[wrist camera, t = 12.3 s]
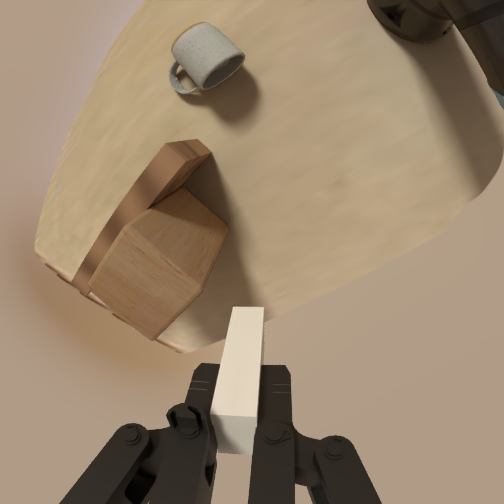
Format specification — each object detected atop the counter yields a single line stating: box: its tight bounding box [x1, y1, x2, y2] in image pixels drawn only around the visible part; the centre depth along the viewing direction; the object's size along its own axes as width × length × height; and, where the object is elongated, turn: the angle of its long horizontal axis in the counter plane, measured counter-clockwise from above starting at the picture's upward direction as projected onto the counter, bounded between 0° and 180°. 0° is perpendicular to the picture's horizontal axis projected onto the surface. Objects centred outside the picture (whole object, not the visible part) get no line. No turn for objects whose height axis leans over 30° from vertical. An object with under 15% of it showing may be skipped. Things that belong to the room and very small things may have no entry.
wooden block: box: [88, 187, 229, 341], centre depth 38 cm, size 10×10×20 cm
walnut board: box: [71, 139, 212, 296], centre depth 40 cm, size 24×3×14 cm, turn 136°
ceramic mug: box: [169, 22, 245, 94], centre depth 34 cm, size 11×8×8 cm
